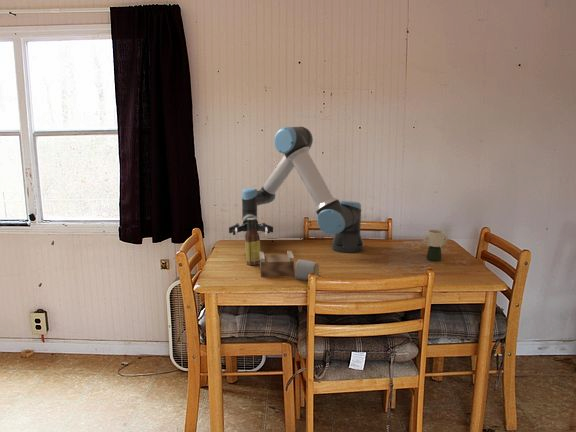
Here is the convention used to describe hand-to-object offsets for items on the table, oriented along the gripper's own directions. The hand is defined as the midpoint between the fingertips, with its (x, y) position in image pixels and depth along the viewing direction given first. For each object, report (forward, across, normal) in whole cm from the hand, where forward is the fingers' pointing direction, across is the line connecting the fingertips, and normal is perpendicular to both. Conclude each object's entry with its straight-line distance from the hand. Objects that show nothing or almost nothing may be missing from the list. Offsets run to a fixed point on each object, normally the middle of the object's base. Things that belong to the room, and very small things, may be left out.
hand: (251, 233), depth 216 cm
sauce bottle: (+9, 0, -11) cm, 14 cm away
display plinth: (+22, -9, -11) cm, 26 cm away
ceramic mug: (+30, -21, -11) cm, 38 cm away
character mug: (+11, -80, -11) cm, 82 cm away
